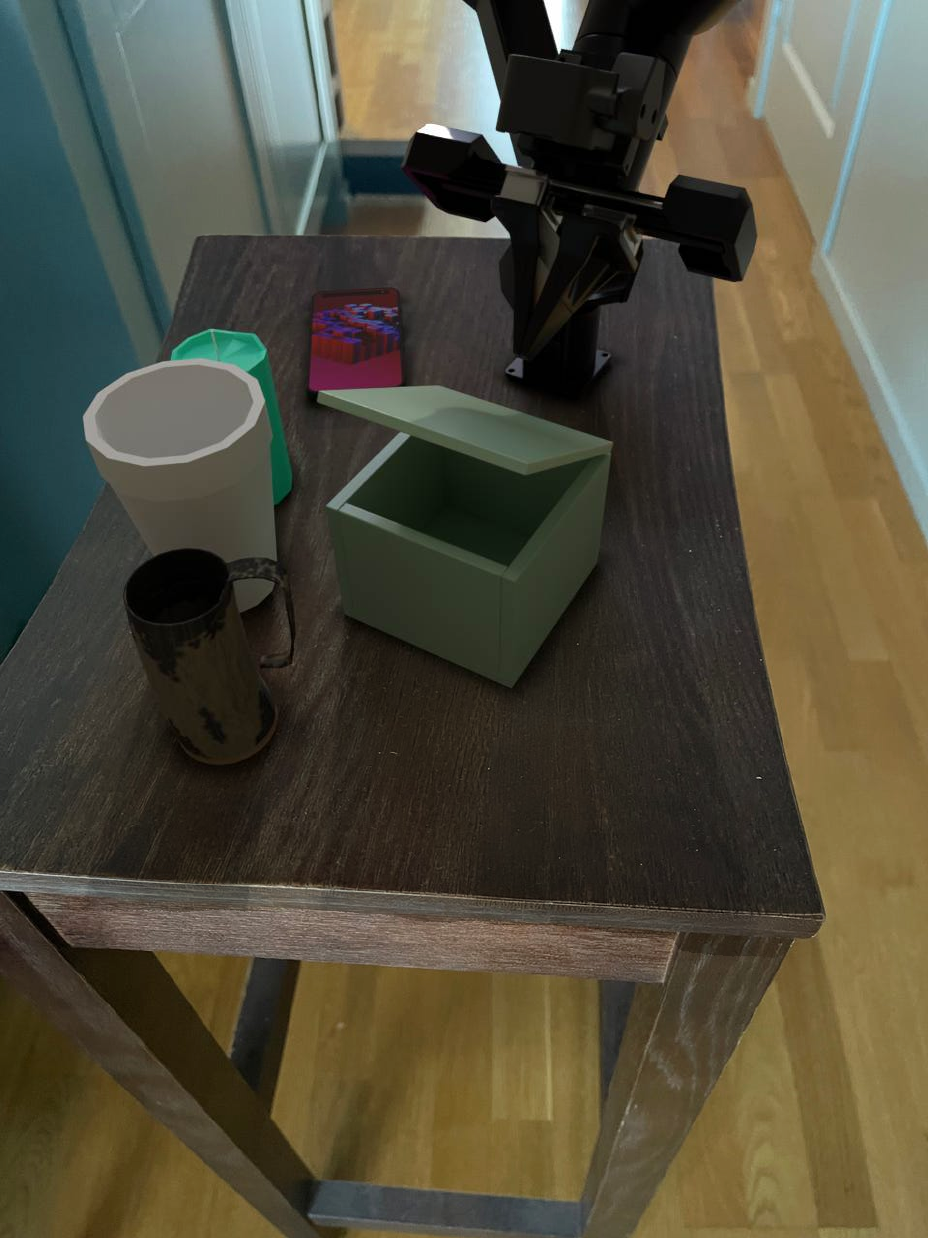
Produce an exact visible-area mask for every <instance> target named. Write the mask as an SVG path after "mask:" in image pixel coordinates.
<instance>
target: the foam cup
mask: <svg viewBox="0 0 928 1238" xmlns="http://www.w3.org/2000/svg"><path fill="white" fill-rule="evenodd" d="M82 422H83V428H84V436H85V441H86V445H87V446H88V449H89V451H90V454H91V456H92V458H93V461H94V464H95V465H96V468H97V471H98V473H99V475H100V477H101V478H102V479H104V481H106V482H107V483H108V484H109V485H110V487H111V488H112V490H113V491H114V493H115V495H116V497H117V498H118V501H119V502H120V504H121V505H122V507H123V508H124V510H125V512H126V513H127V515H128V517H129V519H130V520H131V522H132V523H133V525H134V527H135V528H136V530H137V531H138V533H139V535H140V537H141V538H142V540H143V541H144V543H145V545H146V547H147V549H148V550H149V551H150V553H151V555H152V558H153V557H155V556H156V555H158V554H161V553H164V552H168V551H171V550H176V549H184V548H193V549H202V550H206V551H210V552H212V553H214V554H216V555H218V556H220V557H221V558H222V559H223V560H224V561H225V562H226V563H229V562H233V561H236V560H239V559H243V558H253V557H256V558H268V559H271V560H274V561H277V562H278V555H277V554H278V553H277V552H278V551H277V538H276V523H275V508H274V507H275V505H274V504H273V488H272V472H271V456H270V443H271V440H272V438H273V435H272V430H271V426H270V421H269V417H268V412H267V407H266V403H265V399H264V397H263V394H262V391H261V388H260V385H259V383H258V380H257V379H256V378H254V377H253V376H251V375H250V374H248V373H247V372H245V371H243V370H242V369H240V368H239V367H237V366H236V365H234V364H228V363H223V362H218V361H213V360H207V359H202V358H199V359H187V360H175V361H170V360H164V361H160V362H157V363H154V364H151V365H148V366H145V367H142V368H139V369H136V370H133V371H130V372H126V373H125V374H124V375H122V376H120V377H119V378H118V379H116V380H115V381H113V382H112V383H110V384H109V385H107V386H105V388H103V389H102V390H100V391H99V392H97V393H96V395H95V396H94V398H93V400H92V401H91V403H90V404H89V406H88V408H87V409H86V411H85V412H84V414H83V415H82ZM233 584H234V590H235V596H236V603H237V606H238V610H239V613H240V614H241V613H243V612H246V611H248V610H250V609H252V608H255V607H256V606H258V605H259V604H261V602H263V600H265V599H266V598H267V597H268V596H269V595H270V594H271V593H272V592H273V590H274V587H275V585H276V584H275V583H274V582H272V581H269V580H265V579H242V580H237V581H234V582H233Z"/></svg>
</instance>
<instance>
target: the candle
mask: <svg viewBox="0 0 928 1238" xmlns="http://www.w3.org/2000/svg"><path fill="white" fill-rule="evenodd" d="M199 358H202V359H207V360H213V361H218V362H223V363H228V364H234V365H236V366H237V367H239V368H240V369H242V370H243V371H245V372H247V373H248V374H250V375H251V376H253V377H254V378H256V379H257V380H258V383H259V385H260V388H261V391H262V394H263V397H264V399H265V403H266V407H267V412H268V417H269V421H270V426H271V430H272V435H273V438H272V440H271V443H270V456H271V472H272V488H273V504H274V506H276V505H278V504H280V503H281V501H282V500H284V498H285V497H287V495H288V494H290V492H291V491H292V485H293V484H292V483H293V471H292V466H291V462H290V461H291V460H290V455H289V452H288V451H289V450H288V446H287V442H286V437H285V432H284V427H283V422H282V417H281V413H280V407H279V403H278V398H277V393H276V388H275V383H274V378H273V374H272V369H271V362H270V360H269V359H270V358H269V353H268V349H267V348H266V347H265V345H264V344H263V342H262V341H261V339H260V338H259V337H258V335H257V334H256V333H250V332H241V331H232V330H231V331H230V330H225V329H217V328H209V329H205V330H204V331H201V332H198V333H196V334H194V335H191V336H188V337H187V338H186V339H185V340H183V341H182V342H181V343H180V344H178V346H176V347H175V348H174V349H172V350H171V356H170V360H169V361H175V360H187V359H199Z"/></svg>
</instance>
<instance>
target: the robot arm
mask: <svg viewBox="0 0 928 1238" xmlns="http://www.w3.org/2000/svg"><path fill="white" fill-rule="evenodd" d="M744 1H745V0H588V1H587V5H586V8H585V10H584V14H583V17H582V20H581V22H580V25H579V28H578V31H577V34H576V36H575V39H574V43H573V46H572V48H571V49H567V48H560V50H559V49H558V46H557V43H556V40H555V36H554V32H553V29H552V25H551V22H550V17H549V14H548V10H547V7H546V4H545V0H462V2H464V4H466V5H467V6H468V7H470V8H471V9H472V10H473V11H474V12H475V13H476V16H477V21H478V23H479V27H480V30H481V35H482V37H483V42H484V45H485V50H486V53H487V57H488V59H489V64H490V67H491V71H492V75H493V79H494V83H495V87H496V90H497V94H498V97H499V102H500V103H499V108H498V113H497V117H496V118H497V119H496V124H495V131H496V132H498V133H501V134H506V133H507V134H508V135H509V138H510V142H511V146H512V149H513V153H514V154H513V155H514V157H515V161H516V165H515V164H511V163H504V162H502V161H501V159H500V158H499V156H498V155H497V153H496V152H495V150H494V149H493V147H492V146H491V145H490V143H489V142H488V141H487V139H486V137H485V136H484V134H482V133H477V132H474V131H473V132H472V131H468V130H462V129H458V128H453V127H448V126H443V125H440V124H439V125H438V124H433V123H429V122H428V123H427V124H425V125H424V126H422V127H420V128H419V129H418V130H417V131H415V132H414V133H413V135H412V136H410V137H411V138H409V141H408V143H407V147H406V150H405V154H404V156H403V160H402V163H401V166H400V170H401V171H402V173H404V174H405V176H406V177H407V178H408V179H409V180H410V181H411V182H412V183H413V185H414V186H415V187H417V189H418V190H419V191H420V192H421V193H422V194H423V195H424V196H425V197H426V199H427V200H428V201H429V202H430V203H431V204H432V205H433V206H434V207H435V208H436V209H438V210H439V211H442V212H443V213H446V214H448V215H452V216H456V217H459V218H464V219H469V220H473V221H476V222H480V223H485V224H486V223H488V222H489V221H491V220H492V219H494V218H496V219H497V220H498V222H499V223H500V224H501V226H503V228H504V229H505V230H506V232H507V233H508V234H509V235H508V236H509V239H510V244H509V245H508V247H507V249H506V250H505V252H504V253H503V254H502V256H501V258H500V259H499V260H498V274H499V284H500V291H501V294H502V295H503V297H504V298H505V300H506V302H507V303H508V305H509V307H510V308H511V309H512V311H513V319H512V320H513V322H512V323H513V325H512V353H513V355H514V356H515V357H516V358H515V359H514V360H512V362H511V363H510V364H509V365H508V366H507V367H506V368H505V371H504V376H505V378H507V379H508V380H511V381H515V382H519V383H522V384H525V385H528V386H531V387H535V388H538V389H540V390H545V391H548V392H551V393H554V394H557V395H559V396H563V397H566V398H569V399H574V400H576V399H580V398H581V397H582V396H583V395H584V393H585V392H586V391H587V390H588V389H589V388H590V386H592V384H593V383H594V381H596V379H597V378H598V377H599V375H601V373H602V372H603V371H604V369H605V368H606V367H608V365H609V364H610V362H611V361H612V354H611V352H609V351H606V350H603V349H600V348H598V341H599V340H598V339H599V330H600V321H601V311H602V309H601V308H602V306H605V305H611V304H617V303H619V304H625V303H628V301H629V298H630V295H631V293H632V289H633V286H634V283H635V282H636V278H637V275H638V272H639V269H640V266H641V264H642V260H643V257H644V240H643V236H645V237H650V238H653V239H658V240H663V241H665V242H666V241H667V242H671V243H676V244H679V245H678V248H677V253H678V255H679V257H680V258H681V261H682V263H683V265H684V267H685V270H686V271H687V272H689V273H692V274H698V275H702V276H705V277H709V278H713V279H717V280H722V281H726V282H731V283H738V282H739V283H740V282H743V281H744V278H745V276H746V273H747V271H748V268H749V267H750V263H751V261H752V257H753V256H754V255H753V254H754V253H755V249H756V244H757V239H758V230H757V223H756V217H755V210H754V204H753V202H752V199H751V197H750V195H749V193H748V191H747V189H746V187H743V186H738V185H733V184H728V183H724V182H718V181H713V180H709V179H703V178H699V177H693V176H688V175H684V174H677V175H676V177H675V178H674V179H673V180H672V181H671V182H670V183H669V184H668V187H667V190H666V192H665V195H664V197H663V196H659V195H653V194H650V193H646V192H645V193H644V192H640V190H639V188H640V186H641V183H642V180H643V177H644V175H645V171H646V169H647V166H648V163H649V160H650V157H651V155H652V152H653V149H654V146H655V144H656V141H660V142H663V139H664V137H665V133H666V132H667V128H668V125H669V119H668V116H667V110H668V108H669V104H670V102H671V99H672V97H673V93H674V91H675V88H676V85H677V82H678V79H679V76H680V74H681V70H682V68H683V65H684V62H685V60H686V57H687V55H688V52H689V48H690V45H691V43H692V40H693V38H694V37H696V36H698V35H701V34H703V33H705V32H708V31H710V30H711V29H712V28H713V27H715V26H716V25H718V23H720V22H721V21H722V20H724V19H725V18H726V17H727V16H728V15H729V14H731V13H732V12H733V11H734V10H735V9H736V8H737V7H739V6H740V5H741V4H742V3H743V2H744ZM558 50H559V51H558Z"/></svg>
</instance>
